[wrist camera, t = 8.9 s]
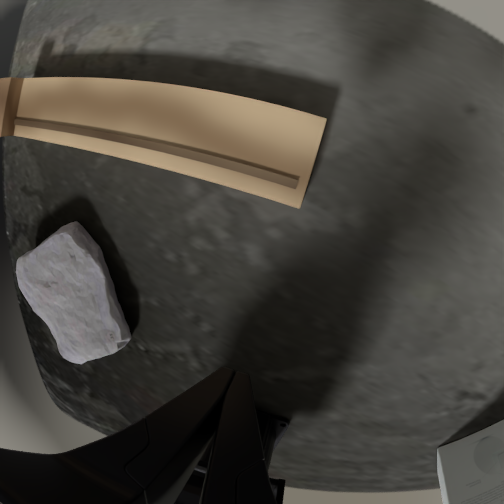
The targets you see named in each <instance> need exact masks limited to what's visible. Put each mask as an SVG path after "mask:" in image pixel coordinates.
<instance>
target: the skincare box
mask: <svg viewBox="0 0 504 504" xmlns="http://www.w3.org/2000/svg"><path fill="white" fill-rule="evenodd" d="M437 472H438V477H439V483H440V488H441V494H442V500H443V504H504V419H503V420H502V421H500V422H498V423H496V424H494V425H491V426H489V427H487V428H485V429H483V430H481V431H478V432H476V433H474V434H472V435H469V436H467V437H465V438H462V439H460V440H457V441H455V442H452V443H450V444H447V445H444V446H441V447H439V448H438V449H437Z"/></svg>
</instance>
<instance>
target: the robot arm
mask: <svg viewBox="0 0 504 504" xmlns="http://www.w3.org/2000/svg"><path fill="white" fill-rule="evenodd" d="M283 423H284V424H283ZM288 426H289V420H287V419H285V418H282V417H278V416H275V415H271V414H268V413H265V412H262V411H259V410H256V409H255V404H254V398H253V392H252V387H251V381H250V376H249V375H248V374H246V373H243V372H240V371H236V372H235V370H234V369H230V368H227V367H221V368H219V369H218V370H216V371H215V372H213V373H212V374H211V375H209V376H208V377H206V378H205V379H203V380H202V381H200V382H199V383H197V384H196V385H194V386H193V387H191V388H189V389H188V390H186V391H185V392H183V393H182V394H180V395H179V396H177V397H176V398H174V399H172V400H171V401H169V402H168V403H166V404H165V405H163V406H161V407H160V408H158V409H157V410H155V411H153V412H152V413H150V414H148V415H147V416H145V418H142V419H140V420H138V421H137V422H135V423H133V424H131V425H130V426H128V427H126V428H124V429H122V430H120V431H118V432H116V433H114V434H111V435H109V436H107V437H105V438H102V439H100V440H97V441H94V442H92V443H89V444H87V445H84V446H81V447H79V448H76V449H73V450H70V451H67V452H64V453H58V454H40V453H31V452H23V451H16V450H9V449H3V448H0V504H283V495H284V487H285V480H284V479H273V478H269V475H268V469H269V465H270V461H271V457H272V452H273V450H274V449H275V447H276V446H277V444H278V443H279V441H280V439H281V438H282V436H283V435H284V433H285V431H286V430H287V428H288Z"/></svg>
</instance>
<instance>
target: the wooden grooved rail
mask: <svg viewBox="0 0 504 504" xmlns="http://www.w3.org/2000/svg"><path fill="white" fill-rule="evenodd" d="M326 121H327V119H326V118H322V117H319V116H316V115H312V114H309V113H306V112H302V111H299V110H295V109H291V108H288V107H284V106H280V105H276V104H272V103H268V102H264V101H260V100H255V99H251V98H246V97H242V96H237V95H232V94H227V93H222V92H217V91H211V90H206V89H200V88H194V87H187V86H180V85H173V84H165V83H157V82H148V81H138V80H126V79H111V78H89V77H43V78H12V77H10V78H1V79H0V137H2V136H12V135H15V136H20V137H26V138H31V139H36V140H41V141H46V142H51V143H56V144H61V145H66V146H71V147H75V148H80V149H84V150H89V151H93V152H98V153H102V154H106V155H111V156H115V157H119V158H123V159H127V160H131V161H135V162H139V163H143V164H147V165H151V166H155V167H159V168H163V169H167V170H170V171H174V172H178V173H182V174H185V175H189V176H193V177H196V178H200V179H203V180H207V181H210V182H214V183H217V184H221V185H224V186H228V187H231V188H235V189H238V190H241V191H245V192H248V193H251V194H254V195H258V196H261V197H264V198H267V199H271V200H274V201H277V202H280V203H283V204H286V205H289V206H293V207H296V208H299V209H300V207H301V204H302V201H303V198H304V195H305V192H306V189H307V185H308V182H309V179H310V176H311V172H312V169H313V166H314V162H315V159H316V156H317V152H318V149H319V146H320V142H321V139H322V136H323V132H324V129H325V125H326Z"/></svg>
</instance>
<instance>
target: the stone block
mask: <svg viewBox="0 0 504 504" xmlns="http://www.w3.org/2000/svg"><path fill="white" fill-rule="evenodd" d="M16 273H17V279H18V284H19V288H20V289H21V291H22V293H23V295H24V296H25V298H26V299H27V301H28V302H29V304H30V305H31V307H32V309H33V311H35V312H36V313H37V314H38V315H39V316H40V317H41V318H42V319H43V320H44V321H45V322H46V324H47V325H48V326H49V328H50V330H51V333H52V335H53V336H54V337H55V339H56V341H57V345H58V349H59V352H60V354H61V355H62V356H63V357H64V358H65V359H66V360H68V361H70V362H73V363H79V364H83V363H85V362H86V361H89V360H93V359H97V358H101V357H103V356H107V355H110V354H113V353H115V352H116V351H118V350H120V349H121V348H123V347H124V346H125V345H126V344H127V343H128V342H129V340H130V339H131V333H130V330H129V326H128V324H127V322H126V321H125V318H124V314H123V311H122V309H121V306H120V304H119V302H118V300H117V296H116V293H115V287H114V284H113V281H112V279H111V277H110V274H109V270H108V267H107V265H106V263H105V260H104V257H103V253H102V250H101V248H100V246H99V245H98V244H97V243H96V242H95V241H94V240H93V238H92V237H91V236H90V234H89V233H88V232H87V231H86V230H85V229H84V227H83V226H82V225H81V224H80V223H78V222H77V221H75V222H72V223H69V224H67V225H65V226H62V227H61V228H60V229H59V230H57V231H56V232H55V233H54V234H52V235H51V236H50V237H48V238H47V239H46V240H45V241H43V242H42V243H41V244H40V245H39V246H38V247H36V248H35V249H33V250H32V251H28V252H27V253H26V254H24V255H23V256H21V257H20V258H19V259H18V260H17V269H16Z"/></svg>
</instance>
